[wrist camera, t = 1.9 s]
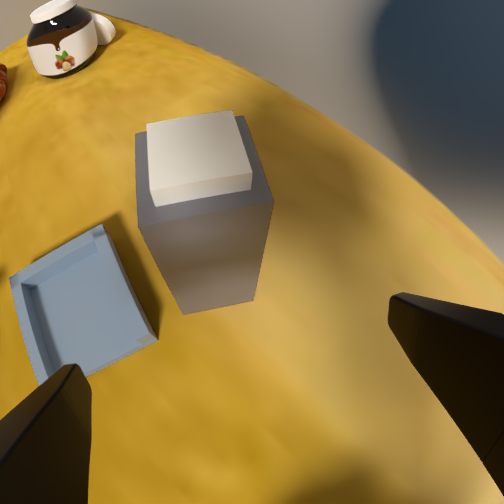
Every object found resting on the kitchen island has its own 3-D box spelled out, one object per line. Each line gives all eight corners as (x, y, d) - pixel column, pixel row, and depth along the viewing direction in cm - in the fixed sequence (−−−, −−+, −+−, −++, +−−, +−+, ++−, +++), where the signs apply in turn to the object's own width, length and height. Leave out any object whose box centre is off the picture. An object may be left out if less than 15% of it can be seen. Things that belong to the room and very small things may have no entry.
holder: (158, 340, 21) (149, 332, 18) (57, 391, 18) (40, 388, 16) (112, 239, 24) (101, 223, 22) (25, 289, 21) (9, 277, 19)
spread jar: (34, 87, 34) (11, 26, 23) (59, 51, 39) (44, -2, 28) (104, 69, 35) (87, -1, 25) (122, 36, 40) (112, -23, 29)
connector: (253, 300, 22) (277, 185, 11) (183, 314, 22) (130, 211, 10) (237, 239, 25) (244, 98, 13) (173, 251, 24) (130, 117, 12)
